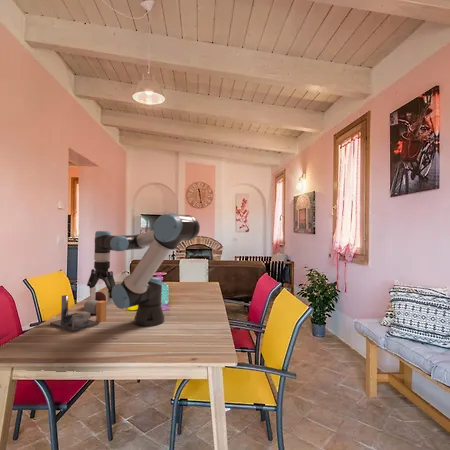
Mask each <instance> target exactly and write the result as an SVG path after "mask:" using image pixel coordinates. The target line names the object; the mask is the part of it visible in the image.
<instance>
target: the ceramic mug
mask: <svg viewBox="0 0 450 450" xmlns="http://www.w3.org/2000/svg"><path fill="white" fill-rule="evenodd" d="M97 302H98V301H96V300H92V301H90V298H89V299H87V300H86V301H85V302H84V304H83V311H85V312H89V313H91V315H96V306H97Z"/></svg>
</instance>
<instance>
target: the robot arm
mask: <svg viewBox="0 0 450 450" xmlns="http://www.w3.org/2000/svg"><path fill="white" fill-rule="evenodd" d="M199 233H200V222H199V220H198V219H197V218H196V217H194V216H193V215H190V214H175V213H165V214H161V215H160V216H159V217H157V218H156V219H155V221H154V223H153V229H152V230H149V231H145V232H142V233H137V234H131V235H125V234H124V235H112V233H111V231H110V230H96V231H95V233H94V256H93V260H94V263H93V268H92V269H91V272H90V275H89V278H88V281H87V284H86V286H87V287H88V288H89V299H90V301H92V300H95V296H96V292H97V291H96V290H97V288H96V285H97V283H98V282H99V280H102V282H104V284H105V286H106V288H107V294H106V295H107V296H106V301H107V306H109V305H112V304H114V305H115V307H117V308H118V309H120V310H123V309H124V310H125V309H129V308H133V307H135V306H137V309H136V312H135V316H134V318H133V319H134V321H133V322H134V324H135V325H137V326H139V327H141V326H142V327H150V326H151V327H153V326H158V325H161V324H163V323H164V322H165V314H164V311H163V307H162V295H163V294H162V293H163V290H162V287H163V285H162V283H163V282H162V279H161V277H158V276H154V275H155V273H157V270H158V269H159V268H160V266H161V265H162V263H163V262H164V260H165V259H166V257H167V256H168V255H169V253H170V252H171V251H174V250H176V249H177V248H178V246H179V245H180V243H181V242H184V241H185V242H186V241H187V242H188V241H192V240H194V239H195V238H196V237H198V235H199ZM145 248H148V249H147V250H146V251H145V253H144V255H143V256H141V258H140V261H139V262H138V264H137V265H136V266H135V268H134V270H133V271H132V272H131V274H128V275H126V276H125V277H124V278H123V280H122V282H120V283H116V281H115V278H114V272H113V271H111V270H110V271H109V269H110V266H111V261H110V260H111V251H113V252H125V251H129V250H142V249H145Z"/></svg>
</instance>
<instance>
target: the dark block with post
mask: <svg viewBox="0 0 450 450" xmlns="http://www.w3.org/2000/svg"><path fill="white" fill-rule="evenodd" d="M60 310H61V312H60V313H61V314H60V315H61V317H60V319H59V320H53V321H51V322H49V326H52V327H56V328H59V329H62V330H65V331H68V332H71V333H75V332H79V331H82V330H85V329H89V328H92V327H94V326H99V322H96V320H91V319H89V321H88V322H87V323H84V324H81V325H77V326H74V327H73V326H72V316H73V315H77V314H78V313H79V312H73V313H70V314H69V294H68V295H67V294H65V295H64V294H63V295H61V309H60Z"/></svg>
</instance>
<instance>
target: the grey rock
mask: <svg viewBox="0 0 450 450" xmlns="http://www.w3.org/2000/svg"><path fill="white" fill-rule="evenodd" d="M77 313H78V314H77V315H73V316H72V326H73V327H74V326H77V325H81V324H84V323H87V322H88V321H89V320H90V319H91V318H92V317H91V315H92V314H91V313H89V312H85V311H84V310H83V311H79V312H77Z"/></svg>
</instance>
